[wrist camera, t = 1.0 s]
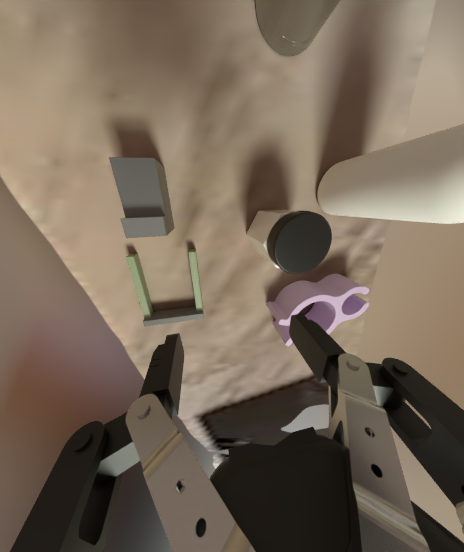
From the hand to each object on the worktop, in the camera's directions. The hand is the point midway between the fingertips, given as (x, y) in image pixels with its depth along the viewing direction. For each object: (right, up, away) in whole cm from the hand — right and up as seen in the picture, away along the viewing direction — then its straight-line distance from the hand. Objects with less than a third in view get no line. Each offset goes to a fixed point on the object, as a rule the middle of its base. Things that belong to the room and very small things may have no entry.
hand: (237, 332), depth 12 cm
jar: (+7, +13, +20) cm, 25 cm away
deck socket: (-13, +3, +21) cm, 25 cm away
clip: (+18, -2, +29) cm, 34 cm away
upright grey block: (-13, +16, +15) cm, 26 cm away
